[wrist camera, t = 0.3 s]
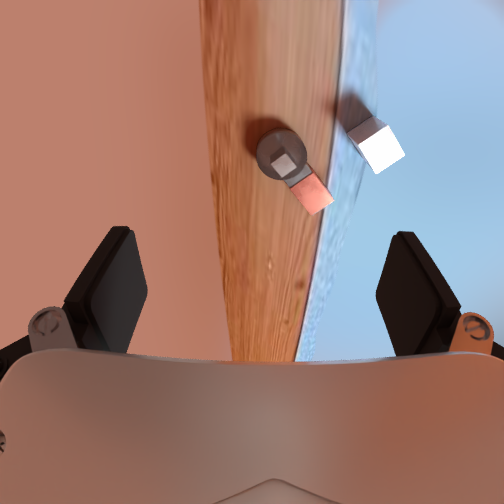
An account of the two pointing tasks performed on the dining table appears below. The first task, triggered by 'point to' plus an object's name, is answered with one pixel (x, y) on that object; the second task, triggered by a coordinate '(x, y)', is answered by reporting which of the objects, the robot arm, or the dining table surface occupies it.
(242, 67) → the dining table surface
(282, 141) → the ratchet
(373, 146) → the brushed aluminum cube
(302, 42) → the dining table surface
